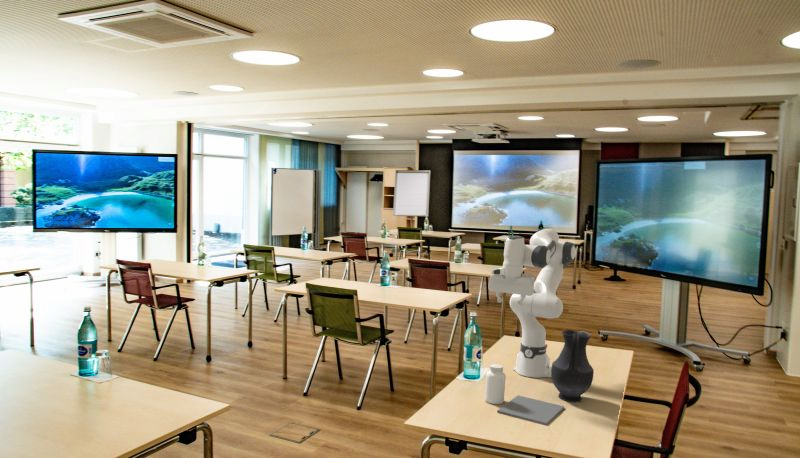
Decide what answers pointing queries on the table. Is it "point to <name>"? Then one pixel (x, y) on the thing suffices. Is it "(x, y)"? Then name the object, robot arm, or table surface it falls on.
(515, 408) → the mat
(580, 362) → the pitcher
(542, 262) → the robot arm
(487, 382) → the pill bottle
